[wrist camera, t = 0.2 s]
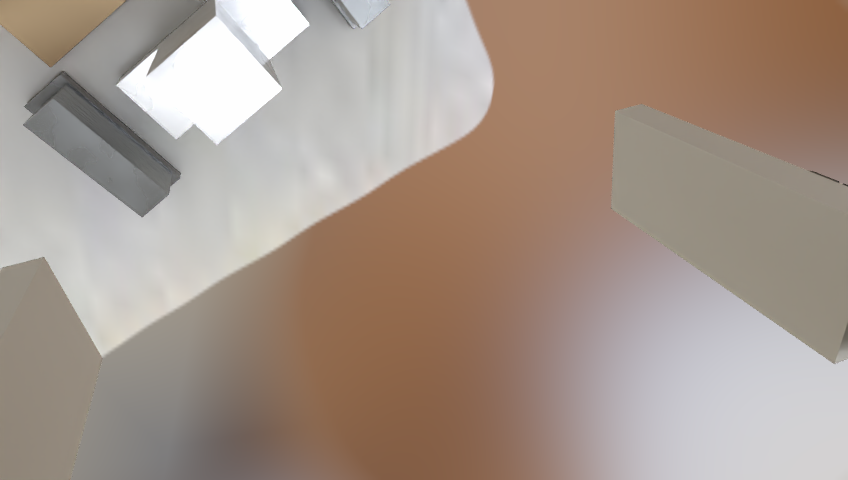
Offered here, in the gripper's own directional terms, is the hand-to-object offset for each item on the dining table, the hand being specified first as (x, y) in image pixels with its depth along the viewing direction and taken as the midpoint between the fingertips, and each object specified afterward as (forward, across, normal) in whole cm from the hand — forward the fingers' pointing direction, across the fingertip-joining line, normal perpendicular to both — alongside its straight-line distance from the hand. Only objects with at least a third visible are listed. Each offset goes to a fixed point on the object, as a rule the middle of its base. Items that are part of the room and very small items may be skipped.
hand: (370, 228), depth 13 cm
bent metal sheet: (+24, -3, +1) cm, 25 cm away
